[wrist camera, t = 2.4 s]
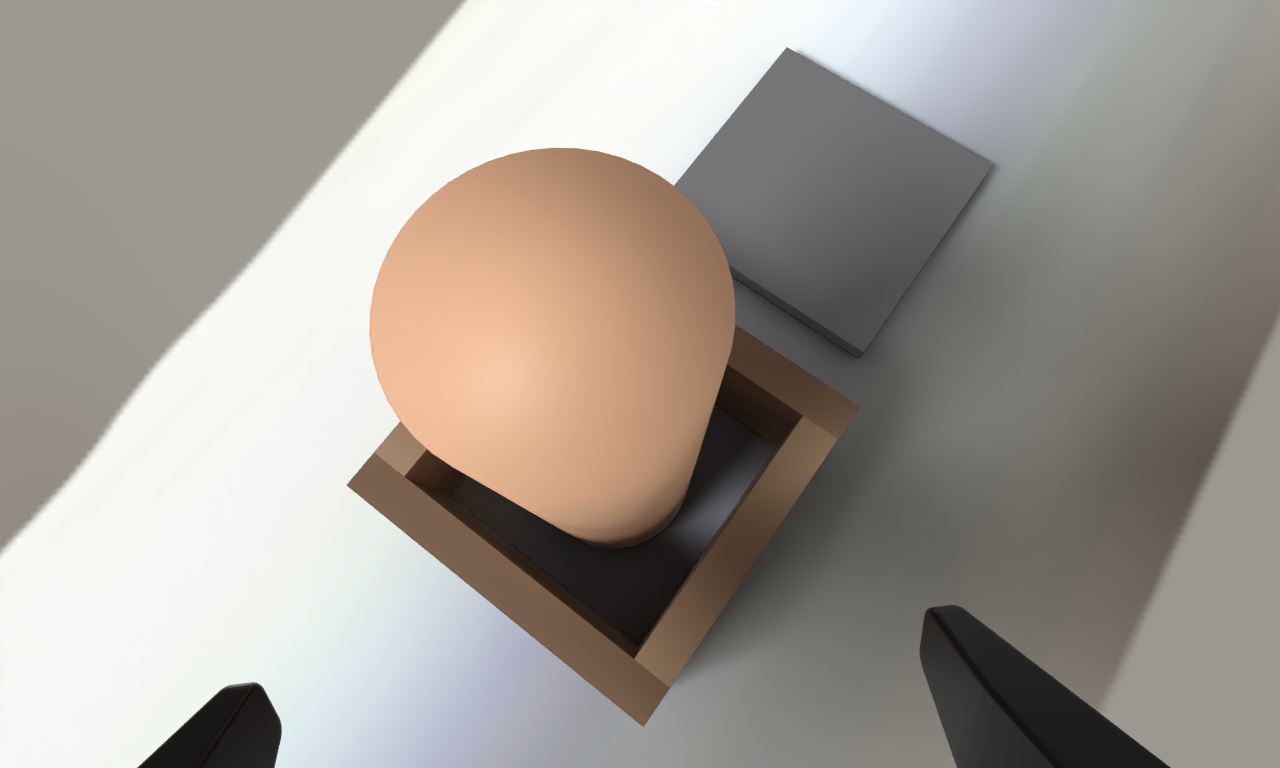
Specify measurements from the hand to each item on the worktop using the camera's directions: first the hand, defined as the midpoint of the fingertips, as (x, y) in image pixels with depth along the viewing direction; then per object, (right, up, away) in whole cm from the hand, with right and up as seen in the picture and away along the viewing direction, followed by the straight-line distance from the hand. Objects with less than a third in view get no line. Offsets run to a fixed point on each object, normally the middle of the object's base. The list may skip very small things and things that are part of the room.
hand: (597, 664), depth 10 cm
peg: (0, +1, +12) cm, 12 cm away
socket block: (0, +1, +12) cm, 12 cm away
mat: (+7, +10, +14) cm, 18 cm away
